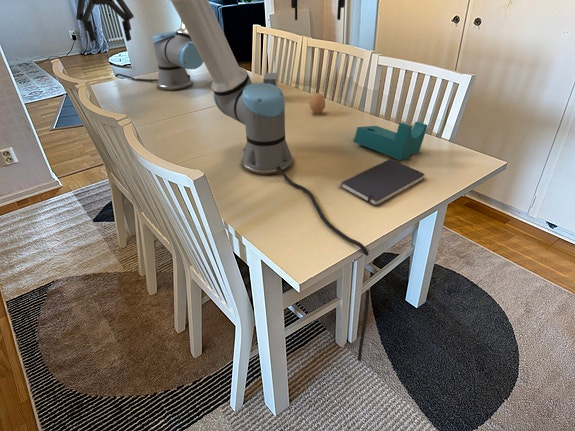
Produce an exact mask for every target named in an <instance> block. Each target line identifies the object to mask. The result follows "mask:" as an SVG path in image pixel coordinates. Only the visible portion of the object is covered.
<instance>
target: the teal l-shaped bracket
mask: <svg viewBox="0 0 575 431" xmlns="http://www.w3.org/2000/svg"><path fill="white" fill-rule="evenodd" d="M427 129H428V124H426V123H424V122H420V121H415V122H414V124H413V125H411V124H407V123H404V122H399V124H398V126H397V130H396V131H392V130H389V129H388V128H384V127H381V126H379V125H365V126H357V127H356V131H355V135H354V138H353V143H355V144H358V145H361V146H362V147H365V148H368V149H370V150H373V151H375V152H378V153H381V154H383V155H386V156H388V157H391V158H392V159H393V158H394V159H396V160H398V161H402V160H409V159H410V156H411V155H413V154H419V153H420V151H421V147H422V144H423V141H424V138H425V135H426V132H427Z"/></svg>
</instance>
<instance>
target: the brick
mask: <svg viewBox="0 0 575 431" xmlns="http://www.w3.org/2000/svg"><path fill="white" fill-rule="evenodd" d="M278 78H279V77H278V72H265V73H264V76H263V79H262V83H265V84H268V83H269V84H272V85H275V86H277V87H278V88H279V80H278Z"/></svg>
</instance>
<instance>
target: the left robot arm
mask: <svg viewBox="0 0 575 431" xmlns="http://www.w3.org/2000/svg"><path fill="white" fill-rule="evenodd" d="M115 1H116V3H117V4H116V3H115ZM115 1H114V0H88V3H87V5H86V0H78V1H77V7H76V18H75V19H76V20H77V21H81V22H82V23H83V27H84V31H86V32H87V33H88V37H89V41H90V42H95V41H96V40H97V38H96V35H95V31H94V27H93V24H92V21H91V20H89V19H90V16H91V15H92V12H93V10H94V7H95V6H99V5H102V6H104V5H105V6H106V5H107V6H108V7H110V8H111V9H112V10H113V11H114V12H115V13H116V15H118V17H120V19H122V21H121V25H122V28H123V32H124V36H125V39H126V40H125V41H126V42H129V41H131V40H132V37H131V30H132V26H131V20H132V19H134V18H135V15H134V14H133V13H132V11H131V9H130V8H129V7H128V5H127V3H126V2H125V1H124V0H115ZM85 5H86V8H85ZM152 45H153V48H154V49H153V50H154V53H155V58H156V62H157V67H158V75H157V78H138V77H133V76H129V75H127V74H126V75H125V74H122V73H115V75H114V78H118V76H119V77H122V78H127V79H130V78H131V79H130V80H133V81H139V82H157V87H158V89H160V90H163V91H179V90H183V89H187V88H189V87H190V86H192V80H191V74H188V72H187V70H197V69H198V68H200V67H202V65H203V64H204V62H203V60H202V58H201V56H200V54H199V52H198V51H197V49H196V47H195V45H194V43H193V41H192V39H191V37H190V35H189V34H188V32H187V30H186V28H185V26H184V24H183V22H182V20H180V27H179V28H178V29H176V30H175V31H166V32H161V33H156V34H154V35H153V36H152ZM135 78H137V79H135Z"/></svg>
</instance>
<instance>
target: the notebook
mask: <svg viewBox="0 0 575 431" xmlns="http://www.w3.org/2000/svg"><path fill="white" fill-rule="evenodd" d="M424 176H425V173H424V172H422V171H420V170H417V169H415V168H413V167H410V166H408V165H406V164H404V163H401V162H399V161H397V160H395V159H393V158H389V159H387V160H385V161H382V162H380V163H379V164H377V165H375V166H372V167H370V168H368V169H366V170H364V171H362V172H360V173H358V174H356V175H353V176H351V177H350V178H348V179H345V180H344V181H341V182H340V183H341V184H340V187H341V188H342V189H344V190H345V191H347V192H349V193H350V194H353V195H355V196H356V197H358V198H360V199H362V200H363V201H365V202H367V203H369V204H371V205H373V206H379V205H381V204H382V203H384V202H386V201H388V200H390V199H391V198H393V197H395V196H397V195H398V194H400V193H402V192H404V191H406V190H407V189H409V188H411V187H413V186H415V185H416V184H418V183H420V182H422V181H423V180H424Z"/></svg>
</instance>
